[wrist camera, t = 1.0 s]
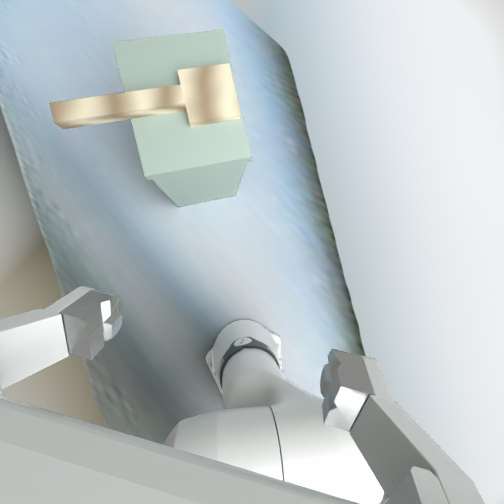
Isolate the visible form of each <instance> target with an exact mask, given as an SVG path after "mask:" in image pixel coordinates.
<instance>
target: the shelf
mask: <svg viewBox="0 0 504 504" xmlns="http://www.w3.org/2000/svg"><path fill="white" fill-rule="evenodd" d="M112 44H113V48H114V52H115V56H116V60H117V65H118V69H119V73H120V77H121V81H122V85H123V89H124V92H131V91H138V90H145V89H153V88H160V87H167V86H174V85H181V84H180V80H179V75H178V71H177V70H181V69H189V68H196V67H204V66H212V65H219V64H227V63H229V65H230V69H231V74H232V78H233V83H234V87H235V92H236V96H237V101H238V105H239V110H240V114H241V115H240V119H237V120H231V121H225V122H219V123H213V124H206V125H200V126H194V127H190V123H189V119H188V114H187V110H186V111H180V112H173V113H167V114H160V115H154V116H147V117H141V118H134V119H131V123H132V127H133V131H134V135H135V139H136V143H137V147H138V152H139V156H140V160H141V164H142V168H143V172H144V176H145V177H146V178H147V179H148V180H153V181H154V182H155V183H156V184H157V185H158V187H159V188H160V189H161V190H162V191H163V192H164V193H165V194H166V195H167V196H168V197H169V198H170V199H171V200H172V201H173V202H174V203H175V204H176V205H177V206H178V207H181V206H186V205H191V204H196V203H201V202H206V201H211V200H216V199H221V198H226V197H231V196H236V193H237V190H238V187H239V184H240V181H241V178H242V175H243V172H244V169H245V166H246V163H247V162H250V161H251V158H252V156H251V151H250V147H249V142H248V138H247V133H246V129H245V124H244V120H243V115H242V111H241V106H240V102H239V97H238V93H237V88H236V84H235V79H234V75H233V70H232V66H231V61H230V57H229V52H228V48H227V43H226V39H225V34H224V30H223V29H222V30H213V31H205V32H196V33H187V34H178V35H170V36H161V37H152V38H144V39H135V40H126V41H118V42H112Z"/></svg>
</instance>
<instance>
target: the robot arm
mask: <svg viewBox="0 0 504 504" xmlns="http://www.w3.org/2000/svg"><path fill="white" fill-rule="evenodd" d="M121 305H122V300H121V297H120V296H118V295H115V294H111V293H108V292H104V291H100V290H97V289H92V288H89V287H85V286H82V287H78V288H76V289H75V290H73V291H72V292H70V293H69V294H67V295H66V296H64V297H62V298H61V299H59V300H58V301H56V302H55V303H53V304H52V305H50V306H49V307H47V308H45V309H44V310H43V309H36V310H33V311H29V312H26V313H21V314H17V315H14V316H10V317H6V318H2V319H0V504H379V503H380V502H381V500H382V498H383V494H384V493H385V494H386V496H387V498H388V499H387V501H386V502H385V503H384V504H485V503H484V502H483V500H482V498H481V496H480V494H479V492H478V490H477V488H476V486H475V484H474V482H473V481H472V480H471V479H470V478H469V477H468V476H467V475H466V474H465V473H464V471H462V470H461V468H460V467H459V466H458V465H457V464H456V463H455V462H454V461H453V460H452V459H451V458H450V457H449V456H448V455H447V454H446V453H445V452H444V451H443V450H442V449H441V447H440V446H439V445H438V444H437V443H436V442H435V441H434V440H433V439H432V438H431V437H430V436H429V435H428V434H427V433H426V432H425V431H424V430H423V429H422V428H421V427H420V426H419V425H418V423H416V421H415V420H414V419H413V418H412V417H411V416H410V415H409V414H408V413H407V412H406V411H405V410H404V409H403V408H402V407H401V406H400V405H399V404H398V403H397V402H395V401H392V399H391V396H390V394H389V391H388V388H387V386H386V383H385V380H384V378H383V375H382V373H381V370H380V367H379V364H378V362H377V360H376V359H375V358H370V357H366V356H361V355H356V354H352V353H348V352H344V351H339V350H335V349H331V351H330V352H329V355H328V362H329V363H328V364H326V365H324V368H323V370H322V374H321V380H320V388H321V394H322V395H323V397H324V398H325V399H322V398H320V397H317V396H315V395H313V394H311V393H309V392H308V391H306V390H304V389H302V388H300V387H299V386H297V385H296V384H294V383H292V382H291V381H289V380H288V379H287V378H285V375H284V371H283V370H282V365H281V364H282V359H281V339H280V336H279V335H277V334H275V333H272V332H269V331H268V330H267V329H265V328H264V327H263V326H262V325H261V324H259V323H257V322H255V321H252V320H238V321H234V322H232V323H230V324H228V325H227V326H226V327H224V328H223V329H222V330H221V332H220V333H219V335H218V336H217V338H216V341H215V344H214V346H213V348H212V349H211V350H210V351H209V352H208V353H207V355H206V357H205V358H206V362H207V364H208V367H209V369H210V371H211V373H212V375H213V377H214V379H215V381H216V384H217V386H218V388H219V390H220V392H221V394H222V396H223V407H224V409H219V410H214V411H210V412H207V413H203V414H199V415H196V416H193V417H190V418H187V419H184V420H181V421H180V422H179V423H178V424H177V425H176V426H175V427H174V428H173V430H172V431H171V432H170V434H169V435H168V437H167V439H166V441H165V443H164V445H163V444H159V443H156V442H153V441H149V440H146V439H143V438H139V437H136V436H132V435H129V434H126V433H122V432H119V431H116V430H112V429H109V428H106V427H102V426H99V425H95V424H92V423H89V422H86V421H82V420H79V419H75V418H72V417H68V416H65V415H62V414H59V413H55V412H52V411H49V410H45V409H42V408H38V407H35V406H32V405H28V404H25V403H22V402H18V401H15V400H12V399H8V398H6V397H5V395H4V392H3V389H4V388H6V387H8V386H10V385H12V384H14V383H16V382H18V381H20V380H22V379H24V378H26V377H28V376H30V375H32V374H34V373H36V372H38V371H40V370H42V369H44V368H46V367H48V366H50V365H52V364H54V363H56V362H58V361H60V360H62V359H64V358H66V357H68V356H69V355H72V356H77V357H81V358H85V359H89V360H92V359H93V358H94V357H95V356H96V355H97V354H98V353H99V352H100V351H101V350H102V348H103V347H104V346H105V341H106V340H109V339H111V338H113V337H114V336H115V335H116V334H117V333H118V331H119V329H120V327H121V325H122V321H123V314H122V312H121V311H120V310H119V307H120V306H121ZM276 343H277V344H276ZM211 362H212V363H211Z"/></svg>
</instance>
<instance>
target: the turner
mask: <svg viewBox="0 0 504 504" xmlns="http://www.w3.org/2000/svg"><path fill="white" fill-rule="evenodd" d="M177 71H178V75H179V80H180V84H181V85H174V86H167V87H160V88H153V89H145V90H138V91H131V92H124V93H117V94H110V95H103V96H95V97H88V98H81V99H74V100H67V101H60V102H53V103H50V107H51V111H52V115H53V119H54V123H56V124H57V125H58V126H60V127H61V128H62V129H69V128H75V127H82V126H89V125H95V124H102V123H108V122H115V121H121V120H128V119H134V118H141V117H147V116H154V115H160V114H167V113H173V112H180V111H186V110H187V114H188V119H189V123H190V127H194V126H200V125H206V124H213V123H219V122H225V121H231V120H237V119H240V115H241V114H240V110H239V105H238V101H237V96H236V92H235V87H234V83H233V78H232V74H231V69H230V65H229V63H227V64H219V65H212V66H204V67H196V68H189V69H181V70H177Z"/></svg>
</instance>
